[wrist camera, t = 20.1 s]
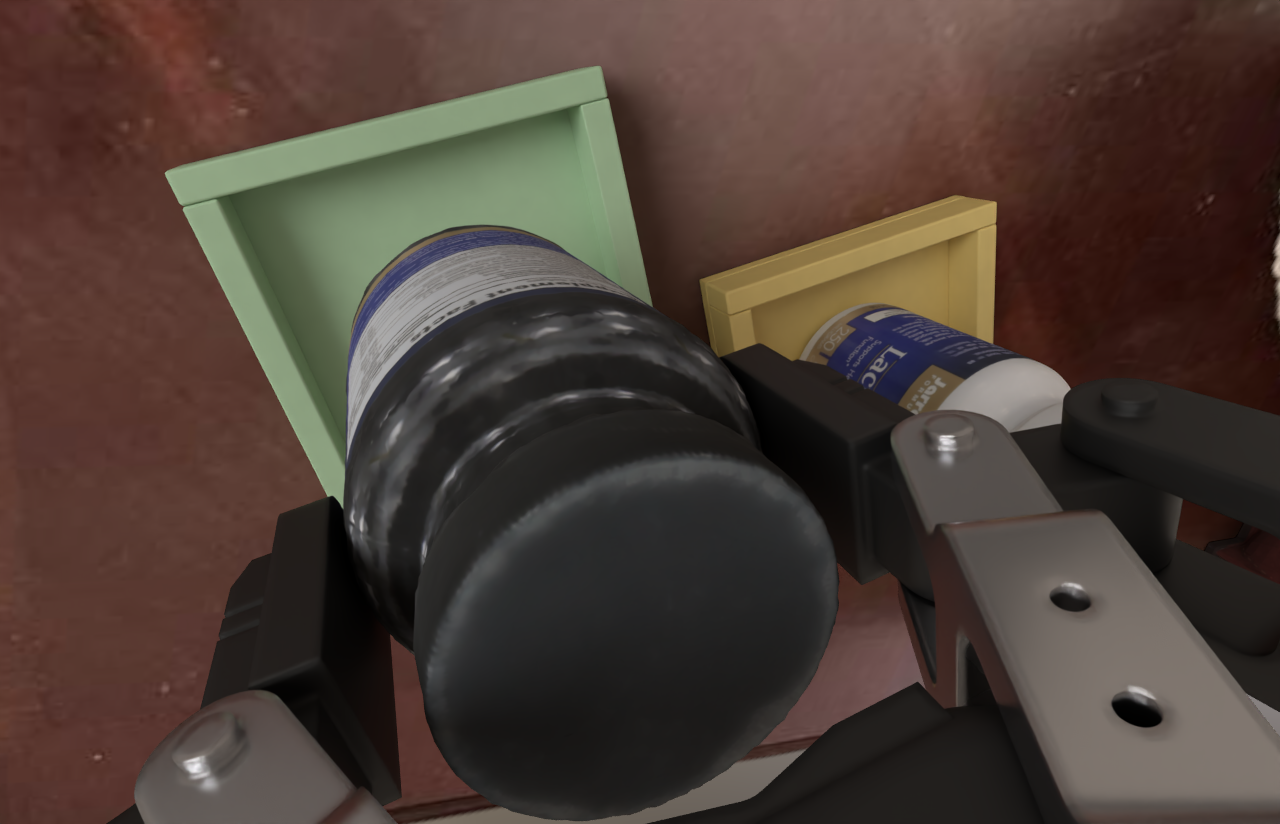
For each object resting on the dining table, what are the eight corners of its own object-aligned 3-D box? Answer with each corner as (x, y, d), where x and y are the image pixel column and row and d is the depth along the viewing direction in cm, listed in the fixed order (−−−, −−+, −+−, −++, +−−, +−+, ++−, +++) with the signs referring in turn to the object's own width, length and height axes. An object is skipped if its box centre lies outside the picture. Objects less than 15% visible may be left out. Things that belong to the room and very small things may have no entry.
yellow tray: (698, 279, 24) (725, 292, 22) (955, 194, 26) (998, 200, 24) (742, 528, 28) (767, 555, 27) (955, 437, 31) (990, 457, 29)
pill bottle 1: (607, 446, 19) (858, 783, 10) (367, 483, 17) (387, 954, 8) (604, 212, 17) (939, 352, 7) (325, 222, 15) (277, 437, 5)
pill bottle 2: (795, 303, 25) (1030, 409, 16) (926, 294, 27) (1197, 384, 18) (778, 450, 27) (976, 611, 18) (899, 432, 29) (1130, 570, 20)
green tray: (181, 165, 17) (162, 171, 16) (580, 68, 20) (602, 64, 18) (349, 508, 22) (349, 541, 21) (654, 396, 25) (676, 418, 23)
